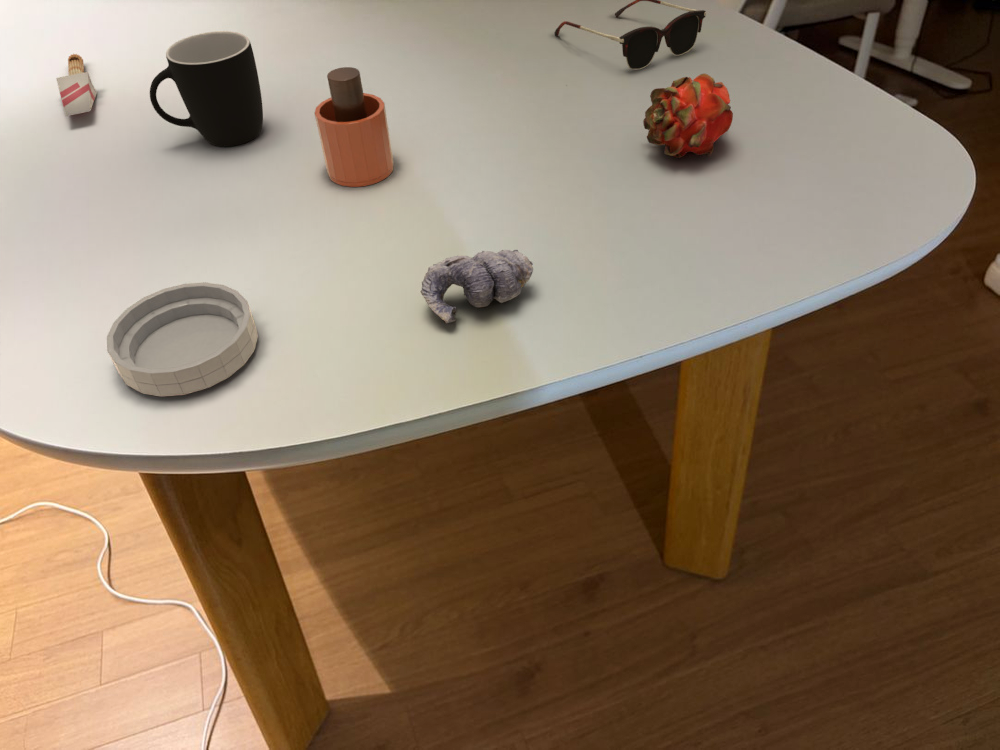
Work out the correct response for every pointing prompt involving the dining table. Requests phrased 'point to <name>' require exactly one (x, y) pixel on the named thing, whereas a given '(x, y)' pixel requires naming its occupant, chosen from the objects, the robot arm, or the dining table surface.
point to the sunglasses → (655, 36)
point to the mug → (215, 86)
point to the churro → (76, 88)
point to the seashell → (476, 279)
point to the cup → (356, 144)
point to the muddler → (347, 94)
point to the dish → (182, 339)
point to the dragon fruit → (688, 115)
